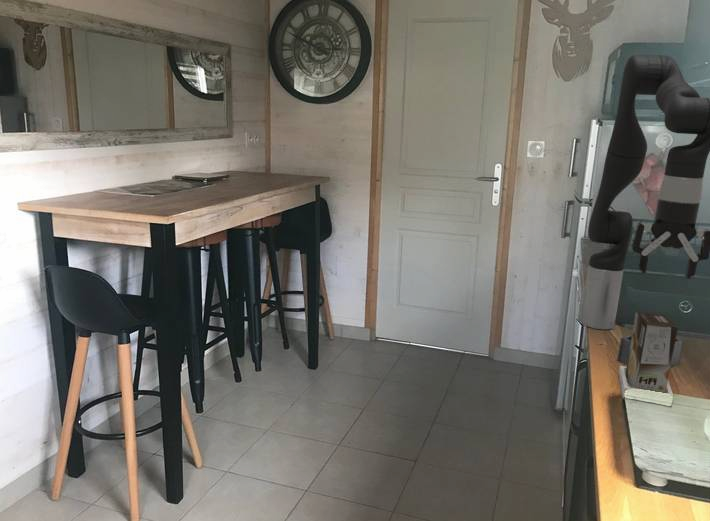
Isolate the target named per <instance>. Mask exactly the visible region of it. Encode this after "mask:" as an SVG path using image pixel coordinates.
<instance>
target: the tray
mask: <svg viewBox="0 0 710 521" xmlns="http://www.w3.org/2000/svg"><path fill="white" fill-rule="evenodd" d="M626 368H627V366H624V365H619V370H618V380H619V386H620V387H619V388H620V392H621V397H622V399H625V398H624V393H625V391H626V390H628V389H636V388H631V387H630V385H629V384H628V382H627V380H626V375H625V374H626ZM641 390H642V389H641ZM665 393H668V394H670V395H673V396H674V394H673V390H672V388H671V386H670V382H669V381H668V382H667V387H666V392H665Z"/></svg>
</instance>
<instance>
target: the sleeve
mask: <svg viewBox="0 0 710 521" xmlns="http://www.w3.org/2000/svg"><path fill="white" fill-rule="evenodd" d="M631 339H632V333H631V334H628V335H627V336H623V337H622V338H620V342H619V343H620V344H619V349H618V354H617V360H616V361H617V362H618V363H622V364H624V365H627V363H628V357H629V351H630V345H631ZM684 342H685V340H684V339H681V338H678V337H676V340H675V345H674V350H673V356H672V361H671V366H670V369H671V368H672V367H675V366H677V365H679V364H680V363H681V362H680V361H681V357H682V352H683V348H684Z"/></svg>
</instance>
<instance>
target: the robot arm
mask: <svg viewBox="0 0 710 521" xmlns="http://www.w3.org/2000/svg"><path fill="white" fill-rule="evenodd" d="M620 84H621V85H620V89H619V90H620V91H619V96H618V103H617V108H616V109H617V110H616V116H615V119H614V124H613V128H612V132H611V136H610V141H609V144H608V147H607V151H606V156H605V159H604V160H605V161H604V166H603V171H602V176H601V180H600V185H599V189H598V193H597V196H596V200H595V202H594V204H593V205H594V206H593V209H592V212H591V215H590V218H589V223H588V228H587V235H588V239H589V240H590V242H592V243H598V244H609V245H612V246H611V247H610V248H608V249H606V250H604V251H601V252H600V251H599V252H596V253H593V254H591V255H590V257H589V261H588V269H587V275H586V283H585V288H584V289H582V290H581V294H580V300H579V306H578V315H577V321H576V322H578V323H581V324H582V325H584V326H585V327H589V328H591V329H596V330H612V329H614V328H615V324H616V319H617V311H618V306H619V300H620V299H619V298H620V295H621V294H620V293H621V288H622V282H623V281H622V280H623V276H624V268H625V263H626V260H627V257H628V250H629V245H630V240H631V237H632V231H633V226H634V221H633V215H632V214H631V212H628V211H623V210H622V211H620V210H609V209H610V207H611V205H612V203H613V202H614V201H615V199H616V198H617V197H618V196H619V195H620V194H621V193H622V192H623V191H624V190H625V189H626V188H628V186H629V185H631V184H632V183H633V182H634V180H636V178H637V177H638V176H639V175H640V173H641V172H642V169H643V167H644V163H645V158H646V156H647V152H648V142H647V139H646V137H645V135H644V132H643V130H642V127H641V126H640V122H639V120H638V117H637V113H636V107H635V105H636V104H635V103H636V97H637V95H640V96H642V95H643V96H655V102H656V106H658V108H659V109H660V111H661V112H662V113H663V114H664V119H663V120H664V126H665V128H666V129H667V130H668V132H669V131H670V132H671V133H675V134H687V135H696V136H695V138H694V139H693V141H692V142H691V143H688V144H684V145H678V146H677V145H676V146H673V147H671V148H670V149H669V150H668V152H667V156H666V163H665V168H664V169H665V170H664V173H663V174H664V175H663V179H662V181H661V184H660V189H659V194H658V200H657V206H656V212H655V218H654V221H653V223H652V224H646V223H643V222H638V223H636V228H635V230H634V231H635V232H634V237H633V240H632V245H631V249H632V252H635V253H638V254H639V261H638V265H637V266H638V269H639V271H640V272H641V274H646V271H647V268H648V267H647V266H648V261H649V254H651V252H652V251H654V250H655V249H657V247H659V246H661V247H662V248H673V249H681V248H684V251H686V252H685V253H686V254H687V255H688V257H689V259H687V265H686V270H685V275H684V276H685V277H684V278H685V279H688V280H691V278H692V277H694V276H695V274H696V269H697V265H698V262H700V261H703V260H704V261H706V260H708V259H709V258H710V230H709V229H708V228H705V229H696V223H697V218H698V214H699V208H700V202H701V200H702V192H703V182H704V181H703V180H704V179H703V178H704V175H705V171H706V170H705V169H706V164H707V160H708V157H709V155H710V97H701V96H700V94H699V92H698V91H697V90H696V89H695V88H693V87H692V86H691V85H690V84H689V83H688V82H686V81H685V79H684V76H683V74H682V71H681V70H680V67H679V65H678V63H677V62H676V60H675V59H674V58H673V57H671V56H669V55H664V54H633V55H631V56H630V57H629V58H628V59H627V61H626V63H625V66H624V69H623V73H622V79H621V82H620ZM649 231H650V232H651V233H652V235H653V237H652V238H651V239H650V240H649V241H648V242H647V243H646V244H645V245H644V246H643V247H642V246H641V243H642V238H643V235H647V233H648V232H649ZM696 236H697V237H698V240H699V241H700V242H701V243H700V252H697V253H696V252H695V249H694V248H693V246H692V245H691V243H690V241H691V240H692V239H694V238H695V237H696Z"/></svg>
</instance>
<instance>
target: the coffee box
mask: <svg viewBox="0 0 710 521" xmlns="http://www.w3.org/2000/svg"><path fill="white" fill-rule="evenodd" d="M678 328H679V327H678V326H677V325H676V324H675V323H674V322H673V321H672V320H671V319H670V318H668V316H666V315H665V314H663V313H656V312H655V313H654V312H641V311H640V312H639V311H635V315H634V322H633V328H632V333H631V334H632V339H631V345H630V351H629V357H628V363H627V364H626V367H627V368H626V374H625V375H626V380H627V382H628V384H629V385H630V387H631V388H636V389H643V390H650V391H655V392H662V393H665V392H666V387H667V382H669V376H670V370H671V368H670V366H671V361H672V356H673V350H674V345H675V340H676V338H677V333H678Z"/></svg>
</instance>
